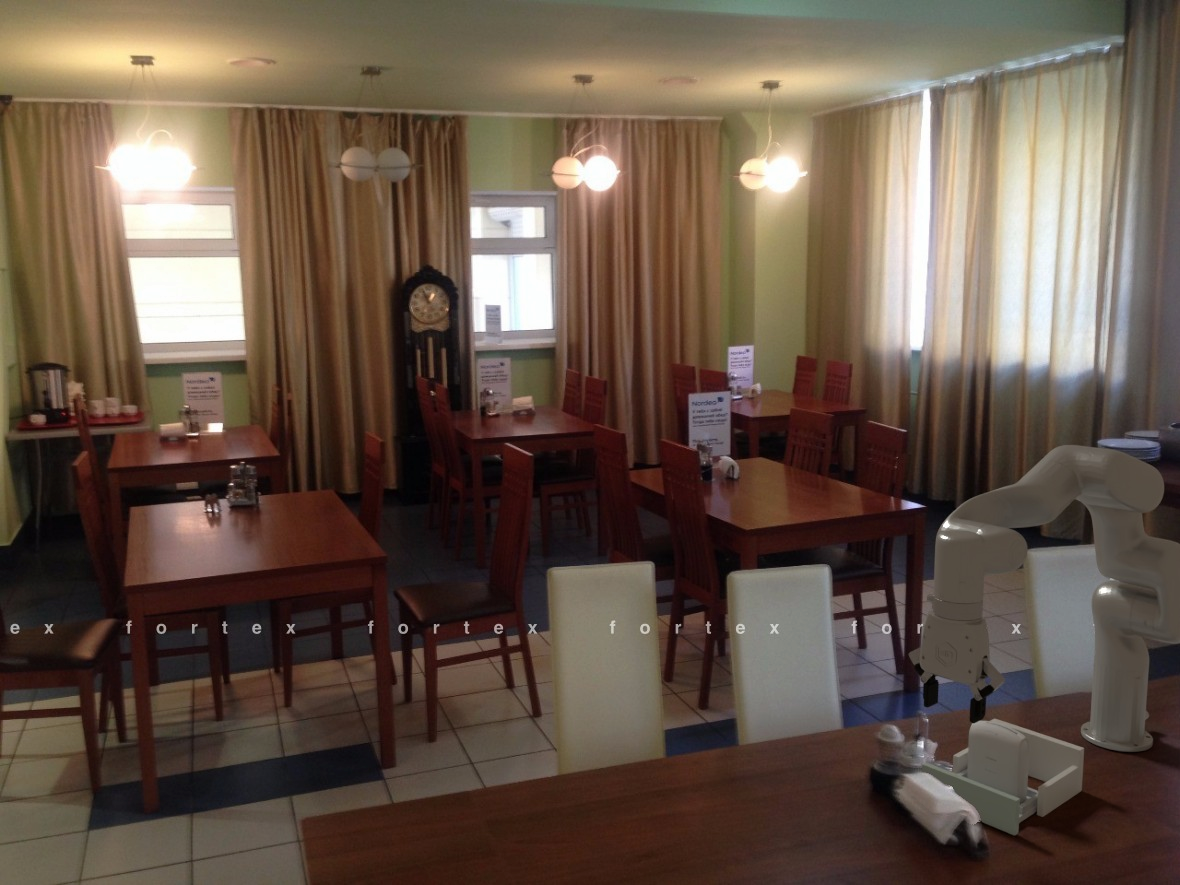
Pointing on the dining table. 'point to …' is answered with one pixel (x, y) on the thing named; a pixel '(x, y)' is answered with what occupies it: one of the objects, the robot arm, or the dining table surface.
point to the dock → (1045, 767)
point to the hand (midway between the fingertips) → (953, 712)
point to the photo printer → (998, 758)
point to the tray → (988, 799)
